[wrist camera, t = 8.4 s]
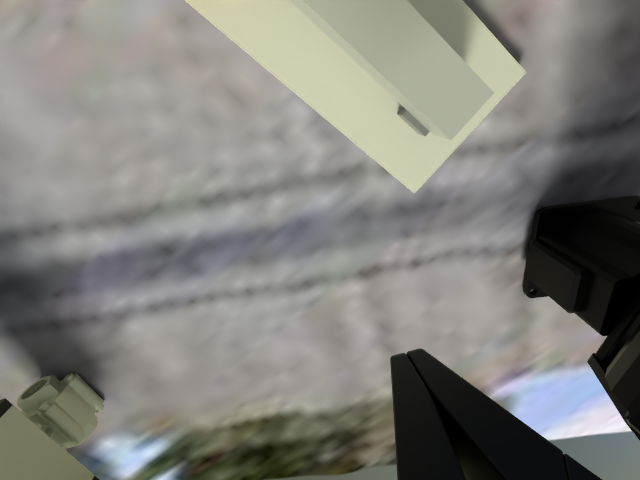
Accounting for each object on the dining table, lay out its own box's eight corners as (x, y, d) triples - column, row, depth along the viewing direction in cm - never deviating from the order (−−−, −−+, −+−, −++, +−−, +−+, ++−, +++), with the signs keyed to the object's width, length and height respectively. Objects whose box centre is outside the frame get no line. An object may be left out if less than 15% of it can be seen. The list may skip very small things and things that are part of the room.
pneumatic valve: (47, 328, 23) (-191, 538, 12) (144, 429, 28) (34, 648, 17) (-14, 352, 24) (-289, 570, 13) (90, 446, 28) (-49, 667, 17)
